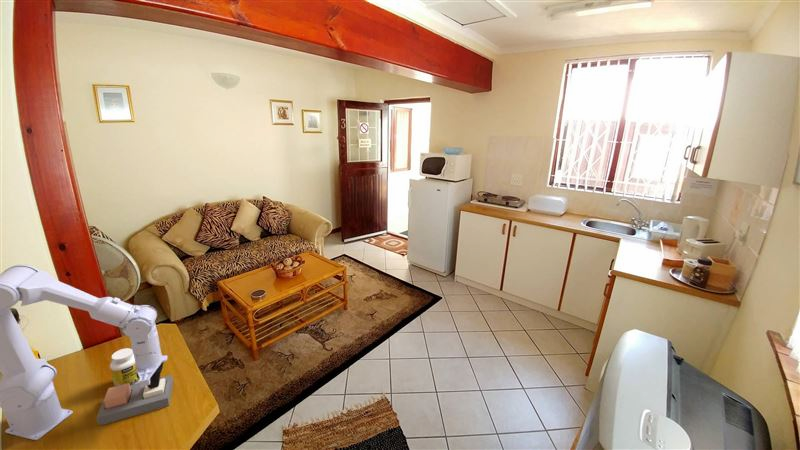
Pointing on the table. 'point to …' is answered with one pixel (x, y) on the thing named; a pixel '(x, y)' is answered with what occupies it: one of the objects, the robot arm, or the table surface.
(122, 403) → the key terracotta
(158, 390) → the key cream
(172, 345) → the table surface
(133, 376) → the pill bottle
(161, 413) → the table surface
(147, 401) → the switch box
